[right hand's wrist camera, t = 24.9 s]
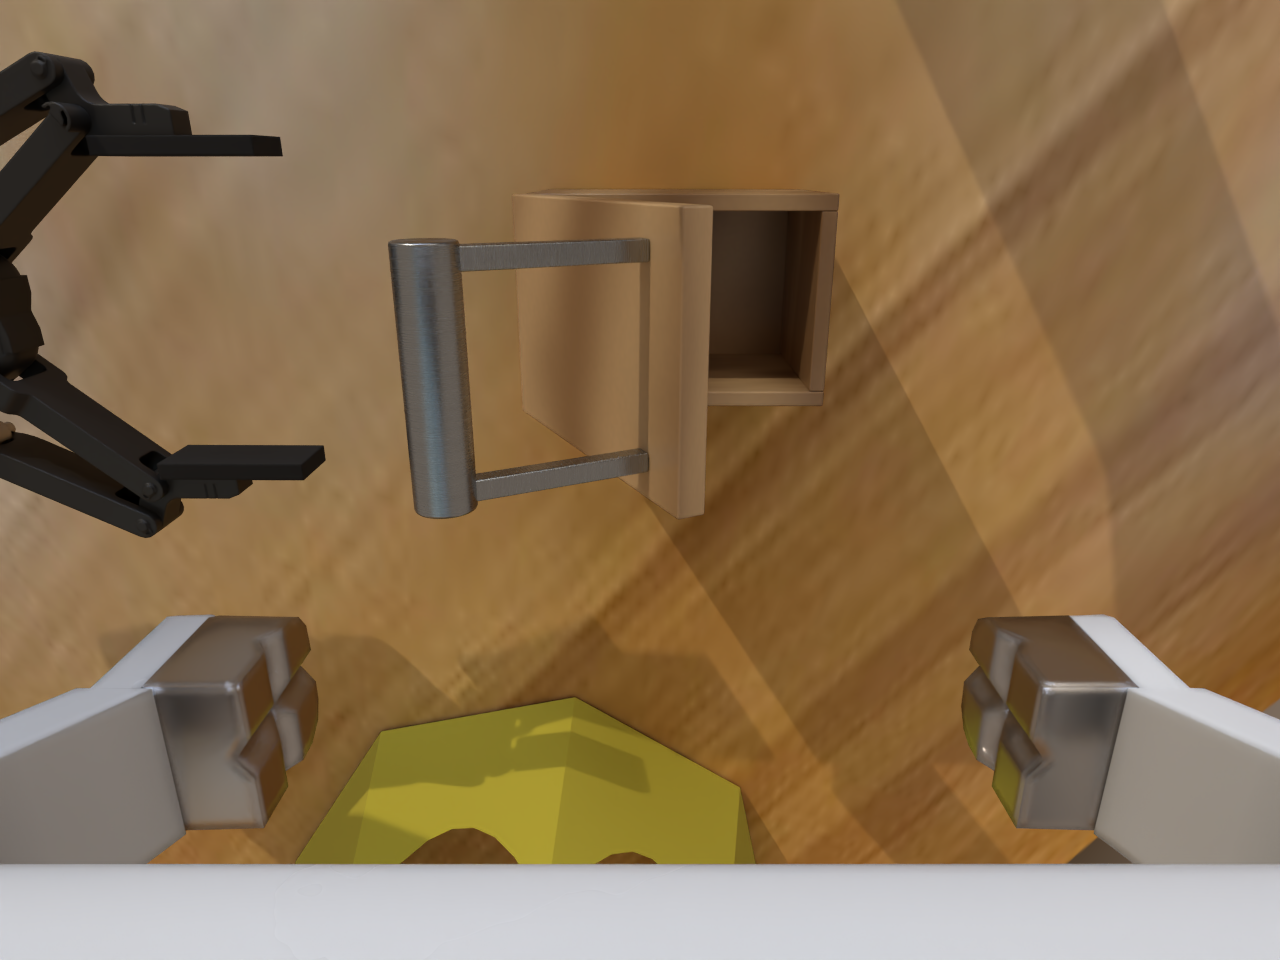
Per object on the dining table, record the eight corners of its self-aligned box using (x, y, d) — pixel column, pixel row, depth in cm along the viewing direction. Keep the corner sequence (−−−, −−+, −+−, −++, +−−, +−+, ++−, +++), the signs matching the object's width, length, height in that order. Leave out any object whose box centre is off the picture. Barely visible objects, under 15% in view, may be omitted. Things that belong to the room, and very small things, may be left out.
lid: (714, 205, 24) (403, 211, 20) (705, 515, 27) (437, 570, 24) (534, 193, 36) (320, 196, 33) (542, 408, 40) (350, 432, 36)
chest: (800, 189, 46) (839, 193, 37) (789, 363, 49) (823, 406, 40) (547, 189, 46) (524, 193, 37) (553, 363, 49) (534, 406, 40)
